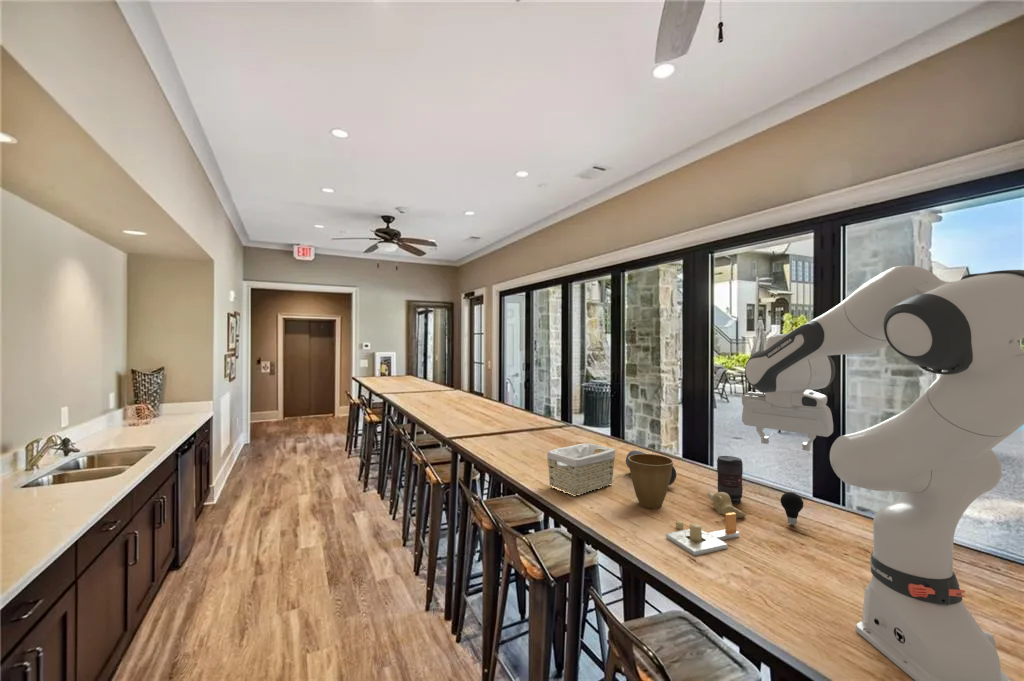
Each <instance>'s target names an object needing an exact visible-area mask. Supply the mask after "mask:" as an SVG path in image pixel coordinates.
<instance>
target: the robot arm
mask: <svg viewBox="0 0 1024 681" xmlns="http://www.w3.org/2000/svg"><path fill="white" fill-rule="evenodd" d="M1023 339H1024V269H1003V270H993V271H988V272H987V271H986V272H979V273H971V274H966V275H964V276H962V277H961V279H959V280H956V281H944V280H942V279H940V278H939V277H938V276H937V275H936V274H934V273H933V272H931V271H930V270H928V269H926V268H924V267H920V266H916V265H911V264H910V265H909V264H908V265H907V264H905V265H898V266H893V267H891V268H889V269H886V270H885V271H883V272H881V273H879V274H878V275H876V276H874V277H873V278H871V279H869V280H868V281H867V282H865V283H863V284H862V285H860V286H859V287H858V288H857V289H856V290H855V291H853V292H852V293H851V294H850V295H849V296H848V297H846V298H845V299H844V300H842V301H841V302H840V303H838V304H837V305H835V306H833V307H832V308H830V309H829V310H828V311H826V312H824V313H822V314H821V315H819V316H817V317H815V318H814V319H812V320H809V321H807V322H805V323H804V324H802V325H800V326H798V327H797V328H794V330H792V331H790V332H789V333H782V334H773V335H771V336H770V337H768V338H767V341H766V347H765V350H758V351H755V352H754V353H753V354H752V355H750V357H749V358H748V360H747V362H746V364H745V367H744V375H745V378H746V380H747V382H748V384H749V385H750V386H751V387H753V388H754V389H755V390H757V391H758V392H753V391H747V392H745V393H743V394H742V395H741V404H742V406H743V407H742V413H741V422H742V424H743V425H744V426H749V427H755V428H756V432H757V433H758V435H759V437H760V442H761V444H763V445H764V444H765V445H769V442H770V440H769V439H770V436H769V435H768V436H767V435H766V434H765V432H764V429H770V430H777V431H783V432H789V433H798V434H803V435H807V439H809V440H808V441H803V443H802V445H801V446H802V447H801V449H802V451H805V452H810V451H811V447H812V444H813V442H814V441H815V439H816V438H817V436H818V437H825V438H828V437H829V436H831V435H832V434H833V433H834V421H833V415H832V411H831V408H830V407H829V406H828V405H827V402H828V396H827V395H825V394H823V393H820V392H817V391H814V390H820V389H825V388H827V387H829V386H830V385H831V383H833V381H834V379H835V375H836V366H835V362H834V360H833V358H832V357H831V356H841V355H855V354H866V353H870V352H875V351H878V350H881V349H883V348H886V347H889V346H890V347H891V348H892V349H893V350H894V351H895V352H896V353H897V354H899V355H900V356H902V358H904V359H906V360H907V361H909V362H910V363H912V364H915V365H917V366H918V367H919V368H921V369H922V370H923V371H925V372H928V373H931V374H936V375H939V376H938V377H937V378H936V379H935V380H934V381H933V382H932V383H931V384H930V385H929V387H927V388H926V390H925V391H923V393H921V395H920V396H919V397H918V398H917V399H916V400H914V402H913V403H911V405H909V406H908V407H906V409H905V410H903V411H901V412H899V413H897V414H895V415H893V416H892V417H890V418H888V419H886V420H884V421H882V422H879V423H877V424H874V425H873V426H871V427H868V428H866V429H863V430H860V431H857V432H856V431H855V432H852V433H848V434H844V435H840V436H838V437H837V438H836V439H835V440H834V442H833V443H832V445H831V447H830V450H829V461H830V465H831V468H832V470H833V472H834V473H835V474H836V476H837V477H838V478H839V479H840V480H841V481H842V482H843V483H844V484H846V485H847V486H848V485H849V486H853V487H857V488H861V489H866V490H870V491H876V492H890V493H891V492H893V493H895V492H896V493H901V494H900V496H899V497H898V498H897V499H896V500H895V501H894V502H893V503H891V504H888V505H887V506H884V507H882V508H880V509H879V510H877V512H876V513H875V514H874V517H873V520H872V531H873V532H872V536H873V538H872V539H873V551H872V552H871V553H870V561H869V564H870V572H871V574H872V577H871V580H870V581H869V583H868V585H866V587H865V589H864V593H863V594H864V596H863V605H862V617H861V620H860V621H858V622H857V623H856V624H855V631H856V633H858V634H859V635H860V636H861V637H863V638H864V639H865V640H866V641H867V642H869V643H870V644H871V645H872V647H875V648H876V649H877V650H878V651H880V653H882V654H883V655H884V656H885V657H886V658H887V659H889V660H890V661H891V662H892V663H894V664H895V665H896V666H897V667H899V668H900V669H901V670H902V671H903V672H905V673H906V674H907V675H908V676H909V677H910V678H911V679H913V680H914V681H1012V680H1011V678H1010V677H1009V676H1008V675H1007V674H1006V673H1005V672H1004V671H1003V670H1002V669H1001V661H1000V657H999V653H998V651H997V649H996V639H995V638H994V636H993V634H992V633H990V632H989V631H984V630H983V629H982V628H981V626H980V625H979V624H978V622H977V621H976V620H975V618H974V616H973V614H972V612H970V611H969V609H968V608H967V606H966V605H965V603H964V602H963V598H966V597H967V596H966V595H964V594H963V593H966V590H965V589H964V590H963V589H961V588H960V583H959V581H958V579H957V575H956V573H955V572H954V570H953V568H954V567H953V566H954V565H953V563H954V562H953V561H954V559H953V557H954V539H955V532H956V530H957V527H958V524H959V521H960V520H961V518H962V516H963V515H964V514H965V512H966V510H967V509H968V508H969V506H971V504H972V503H974V502H975V500H976V499H978V498H979V497H981V496H983V494H986V493H988V492H990V491H992V490H993V489H994V488H996V487H997V485H998V484H999V482H1000V480H1001V477H1002V466H1001V463H1000V460H999V457H998V456H997V454H996V453H995V452H994V451H993V448H995V447H996V446H997V445H998V444H1000V443H1001V442H1003V441H1004V440H1005V439H1006V438H1008V437H1009V436H1010V435H1012V434H1014V433H1015V432H1016V431H1017V430H1019V429H1020V428H1021V427H1022V426H1024V351H1023V349H1022V347H1021V346H1020V343H1019V341H1020V340H1023Z"/></svg>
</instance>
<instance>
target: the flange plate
mask: <svg viewBox="0 0 1024 681" xmlns="http://www.w3.org/2000/svg"><path fill="white" fill-rule="evenodd" d="M724 517H725V518H724V523H725V524H724V526H725V529H721V530H715V531H710V532H706V531H705V530H702V542H698V543H694V542H693V541H691V540H690V528H688V529H682V530H677V531H672V532H667V533H665V538H666V539H667V540H669V541H670V542H672V543H673V544H675V545H677V546H678V547H679V548H682V549H683V550H684V551H686V552H688V553H689V554H691V555H692V556H694V557H696V556H701V555H705V554H709V553H713V552H719V551H723V550H726V549H728V543H726V542H725V540H726V541H727V540H730V539H735V538H739V537H740V531H737V518H736V513H734V512H732V513H727V514H725V515H724Z"/></svg>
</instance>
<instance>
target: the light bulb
mask: <svg viewBox="0 0 1024 681" xmlns="http://www.w3.org/2000/svg"><path fill="white" fill-rule="evenodd" d="M780 505H781V506H782V507H783V509H784V511H785V514H786V518H787V523H788V524H789V525H790V526H796V525H797V524H798V517H799V513H800V512H801V511H802V510H803V508H804V501H803V498H802V497H801V496H800V495H799V494H797V493H795V492H791V491H789V492H785V493H783V494H782V495H781V497H780Z"/></svg>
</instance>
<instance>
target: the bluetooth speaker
mask: <svg viewBox="0 0 1024 681" xmlns="http://www.w3.org/2000/svg"><path fill="white" fill-rule="evenodd" d="M635 454H647V453H646V452H643V451H640V450H635V449H634V450H631V451H629V452H628V453H627V455H626V457H625V464H626V466H627V467H628V469H630V467H629V461H628V457H629V456H631V455H635ZM676 479H677V471H676V468H675V467H674V465H673V466H672V473H671V478H670V482H669V486H671V485H673V483H674V482H676Z"/></svg>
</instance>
